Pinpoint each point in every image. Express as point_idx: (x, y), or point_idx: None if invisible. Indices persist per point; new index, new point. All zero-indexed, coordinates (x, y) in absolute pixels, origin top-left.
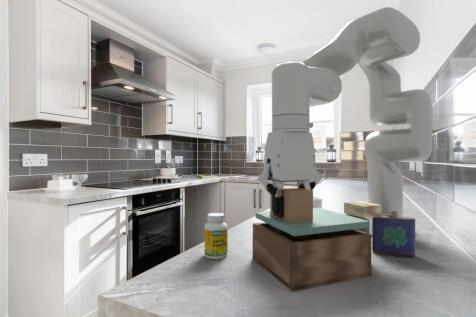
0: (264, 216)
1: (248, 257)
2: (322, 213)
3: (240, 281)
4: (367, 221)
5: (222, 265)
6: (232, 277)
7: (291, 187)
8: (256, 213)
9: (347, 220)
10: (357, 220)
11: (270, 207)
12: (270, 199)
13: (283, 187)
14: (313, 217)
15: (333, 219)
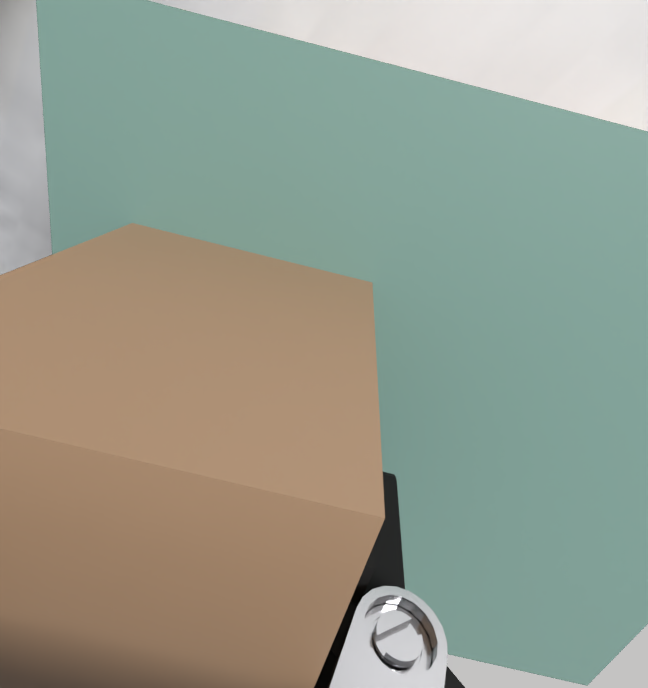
0: (53, 231)
1: (202, 9)
2: (628, 448)
3: (48, 247)
4: (570, 681)
5: (17, 35)
6: (28, 198)
7: (229, 632)
8: (42, 12)
9: (506, 626)
10: (555, 651)
11: (85, 247)
12: (10, 278)
13: (61, 566)
14: (406, 487)
15: (463, 579)
